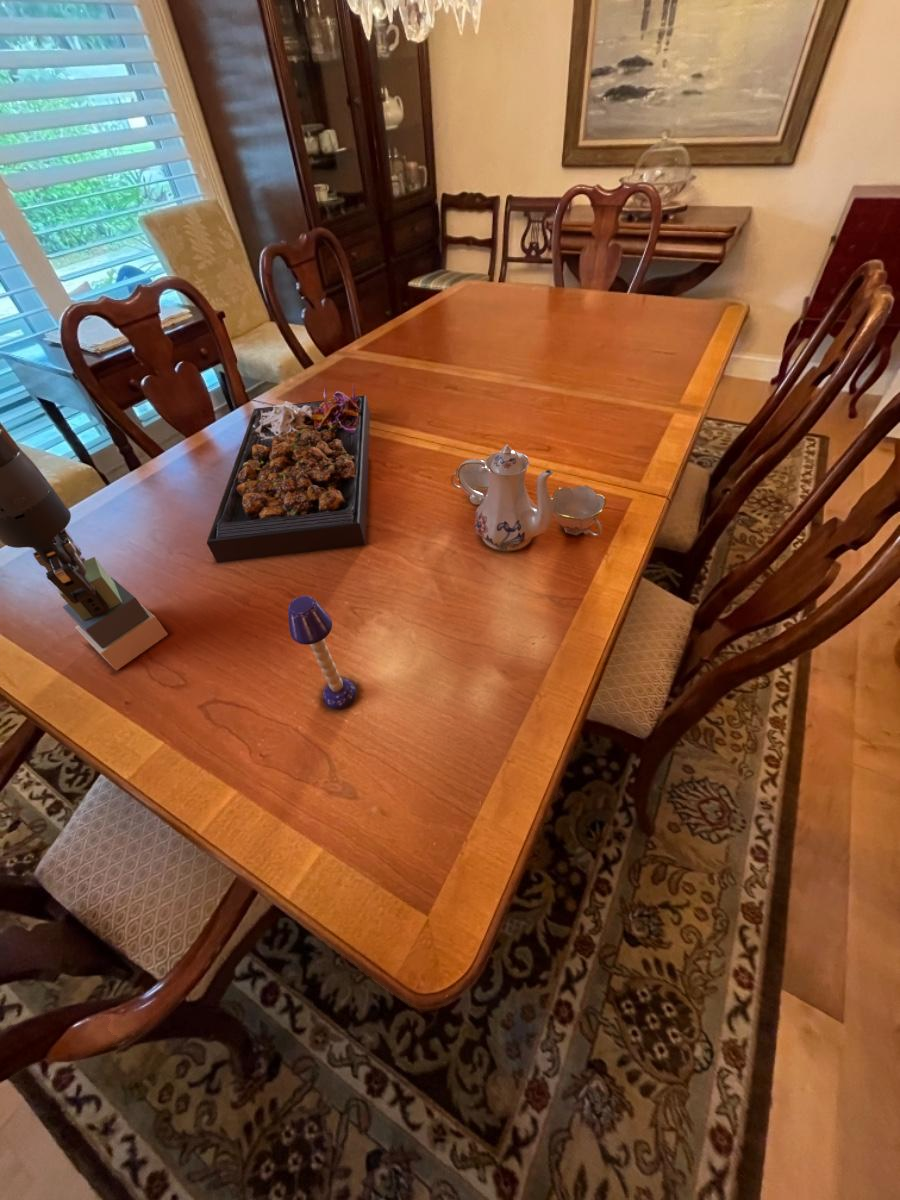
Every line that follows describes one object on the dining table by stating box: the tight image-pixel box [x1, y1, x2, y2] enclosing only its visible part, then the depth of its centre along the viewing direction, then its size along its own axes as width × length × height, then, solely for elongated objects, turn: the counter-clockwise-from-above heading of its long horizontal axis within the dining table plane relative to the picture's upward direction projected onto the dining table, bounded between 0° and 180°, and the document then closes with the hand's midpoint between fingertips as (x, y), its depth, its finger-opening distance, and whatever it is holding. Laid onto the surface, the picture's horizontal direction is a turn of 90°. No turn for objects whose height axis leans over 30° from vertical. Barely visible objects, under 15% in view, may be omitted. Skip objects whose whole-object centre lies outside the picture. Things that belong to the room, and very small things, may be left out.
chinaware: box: [450, 444, 607, 553], centre depth 83 cm, size 28×17×17 cm, turn 62°
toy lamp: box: [287, 595, 357, 710], centre depth 62 cm, size 5×5×17 cm
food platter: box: [206, 382, 371, 563], centre depth 100 cm, size 45×25×10 cm, turn 5°
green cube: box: [58, 556, 122, 621], centre depth 70 cm, size 5×5×5 cm
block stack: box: [62, 576, 168, 671], centre depth 75 cm, size 8×8×8 cm
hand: (97, 599), depth 72 cm, fingers closed on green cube, 5 cm apart
